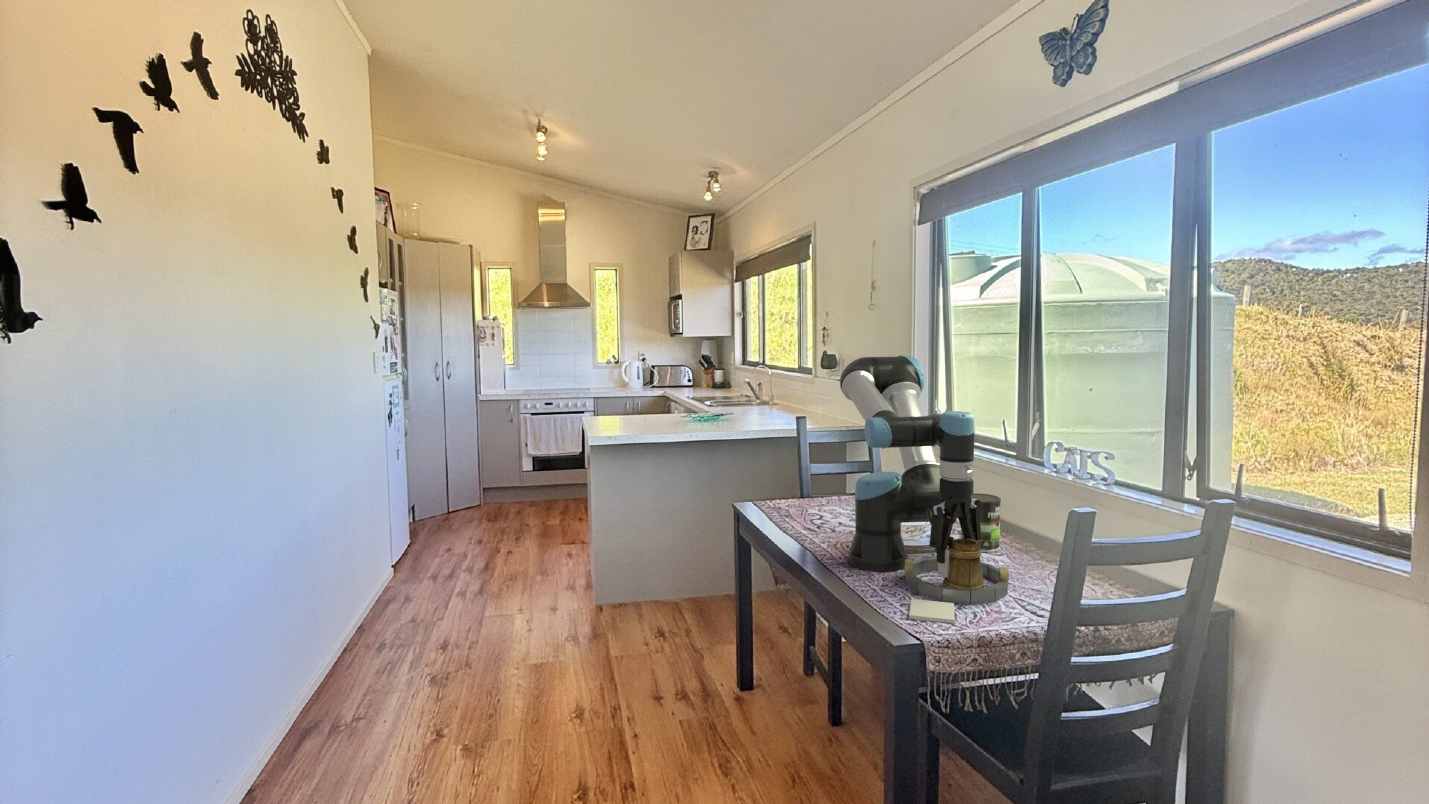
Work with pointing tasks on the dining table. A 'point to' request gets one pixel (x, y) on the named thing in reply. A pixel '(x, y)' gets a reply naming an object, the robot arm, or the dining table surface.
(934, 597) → the collar
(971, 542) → the wooden mug
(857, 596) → the dining table surface
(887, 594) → the dining table surface
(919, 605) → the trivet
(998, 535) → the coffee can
